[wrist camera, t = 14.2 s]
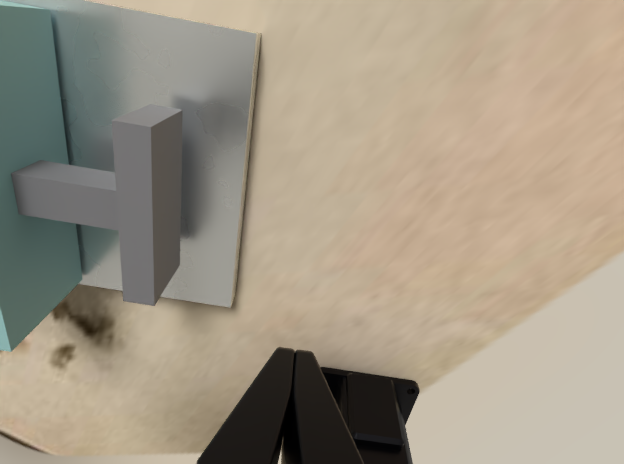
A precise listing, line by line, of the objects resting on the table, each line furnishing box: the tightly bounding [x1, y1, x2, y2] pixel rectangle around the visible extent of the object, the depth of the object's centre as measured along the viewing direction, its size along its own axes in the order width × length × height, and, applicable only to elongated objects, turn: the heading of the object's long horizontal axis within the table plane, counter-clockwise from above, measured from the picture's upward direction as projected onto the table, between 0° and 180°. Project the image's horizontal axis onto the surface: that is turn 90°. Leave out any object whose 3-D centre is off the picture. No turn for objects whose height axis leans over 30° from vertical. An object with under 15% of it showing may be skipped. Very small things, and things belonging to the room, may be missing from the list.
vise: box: [2, 0, 261, 308], centre depth 15 cm, size 13×17×6 cm
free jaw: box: [0, 0, 183, 352], centre depth 15 cm, size 12×8×5 cm, turn 170°
